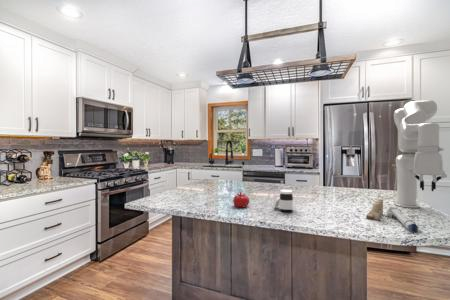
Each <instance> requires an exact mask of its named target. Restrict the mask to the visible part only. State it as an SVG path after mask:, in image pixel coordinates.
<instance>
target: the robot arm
mask: <svg viewBox="0 0 450 300" xmlns="http://www.w3.org/2000/svg"><path fill="white" fill-rule="evenodd" d="M437 111H438V105H437V103H436V101H435V100H433V99H431V100H430V99H424V100H413V101H408V102H407V103H405V104H404V105H403V107H402V108H398V109H396V110H394V112H393V120H394V124H395V126H396V129H397V143H398V144H397V145H398V150H399V151H400V152H402V153H405V154H398V155H397V156H396V157H395V166H396V167H395V168H396V177H397V178H396V179H397V181H396V185H397V186H396V201H393V205H394V206H396V207H402V208H409V209H417V208H420V204H419V203H417V185H418V184H417V182H418V181H419V189H421V191H424V190H425V181H424V178H423V177H424V176H432V180H431V187H430V189H431V192H434V190H436V186H437V184H436V183H437V182H438V181H440V180H441V179H445V178H448V175H447V173H446V172H445V170H444V164H443V156H442V153H440V152H443V151H444V147H441V146H440V124H439V123H437V122H427V121H429V120H431V119H432V117H434V116H435V115H436V113H437ZM406 153H407V154H406ZM408 153H415V154H408ZM417 180H418V181H417Z"/></svg>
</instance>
